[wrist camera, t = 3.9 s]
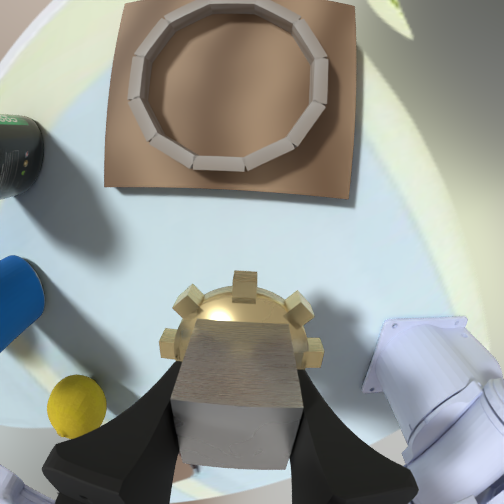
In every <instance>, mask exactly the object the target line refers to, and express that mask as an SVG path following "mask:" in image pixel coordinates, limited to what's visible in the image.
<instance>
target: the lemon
mask: <svg viewBox="0 0 504 504" xmlns="http://www.w3.org/2000/svg"><path fill="white" fill-rule="evenodd" d="M106 409H107V405H106V398H105V395H104V392H103V391H102V389H101V387H100V386H99V385H98V384H97V383H96V382H95V380H93V379H91V378H89V377H86V376H83V375H71V376H67V377H65V378H64V379H62V380H61V381H60V382H59V383H58V384H57V385H56V386H55V387H54V389H53V390H52V392H51V395H50V397H49V400H48V404H47V413H48V417H49V420H50V422H51V424H52V426H53V427H54V428H55V430H56V431H57V434H58V435H59V436H61V437H66V438H69V439H74V438H77V437H79V436H82V435H84V434H86V433H88V432H91V431H93V430H95V429H97V428H99V427H100V425H101V424H102V422H103V420H104V417H105V414H106Z"/></svg>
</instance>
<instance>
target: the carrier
mask: <svg viewBox="0 0 504 504" xmlns="http://www.w3.org/2000/svg"><path fill="white" fill-rule="evenodd" d="M355 23H356V22H355V6H352V5H347V4H343V3H338V2H333V1H328V0H141V1H136V2H131V3H126V4H125V6H124V10H123V14H122V19H121V23H120V28H119V33H118V38H117V43H116V48H115V54H114V60H113V67H112V73H111V81H110V89H109V98H108V108H107V120H106V135H105V161H104V187H174V188H206V189H228V190H246V191H261V192H275V193H288V194H300V195H311V196H321V197H331V198H340V199H349V190H350V180H351V170H352V158H353V145H354V129H355V109H356V24H355Z"/></svg>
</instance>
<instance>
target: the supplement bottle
mask: <svg viewBox="0 0 504 504" xmlns="http://www.w3.org/2000/svg"><path fill="white" fill-rule="evenodd" d="M42 161H43V139H42V135H41V132H40V129H39V127H38V126H37V124H36V123H35V122H34V121H33V120H32V119H31V118H29V117H26V116H20V115H7V114H0V200H1V199H5V198H8V197H12V196H16V195H19V194H22V193H24V192H25V191H27V190H28V189H29V188H30V187H31V186H32V185H33V183H34V182H35V180H36V178H37V176H38V174H39V172H40V169H41V165H42Z"/></svg>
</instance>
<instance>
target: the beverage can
mask: <svg viewBox="0 0 504 504" xmlns="http://www.w3.org/2000/svg"><path fill="white" fill-rule="evenodd" d="M44 306H45V298H44V292H43V288H42V284H41V281H40V279H39V277H38V275H37V273H36V272H35V270H34V269H33V268H32V267H31V266H30V265H29V264H28V263H27V262H26V261H25V260H24V259H22V258H21V257H19V256H15V255H11V256H8V257H6V258H4V259H2V260H0V353H1V352H2V351H3V350H4V349H5V348H6V347H7V346H8V345H9V344H10V343H11V342H12V341H13V340H14V339H15V338H16V337H18V336H19V335H20V334H21V333H22V332H23V331H24V330H25V329H26V328H27V327H29V326H30V325H31V324H32V323H33V322H34V321H35V320H36V319H38V318H39V317H40V316H41V315H42V313H43V311H44Z"/></svg>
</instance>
